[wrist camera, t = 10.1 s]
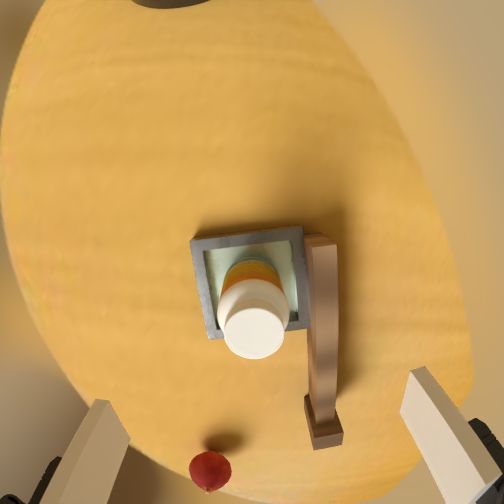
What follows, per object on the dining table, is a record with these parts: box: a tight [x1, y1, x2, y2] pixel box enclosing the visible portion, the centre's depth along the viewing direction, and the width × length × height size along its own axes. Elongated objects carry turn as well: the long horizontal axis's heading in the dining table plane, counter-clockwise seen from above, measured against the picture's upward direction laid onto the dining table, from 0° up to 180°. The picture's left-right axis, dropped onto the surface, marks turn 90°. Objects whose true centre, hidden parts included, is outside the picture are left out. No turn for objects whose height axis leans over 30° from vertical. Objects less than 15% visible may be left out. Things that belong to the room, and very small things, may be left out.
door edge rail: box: [303, 233, 344, 450], centre depth 26 cm, size 22×3×7 cm, turn 7°
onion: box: [189, 450, 232, 494], centre depth 31 cm, size 6×6×8 cm
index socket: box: [190, 225, 309, 340], centre depth 27 cm, size 10×10×2 cm
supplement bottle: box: [217, 257, 289, 359], centre depth 23 cm, size 5×5×10 cm
